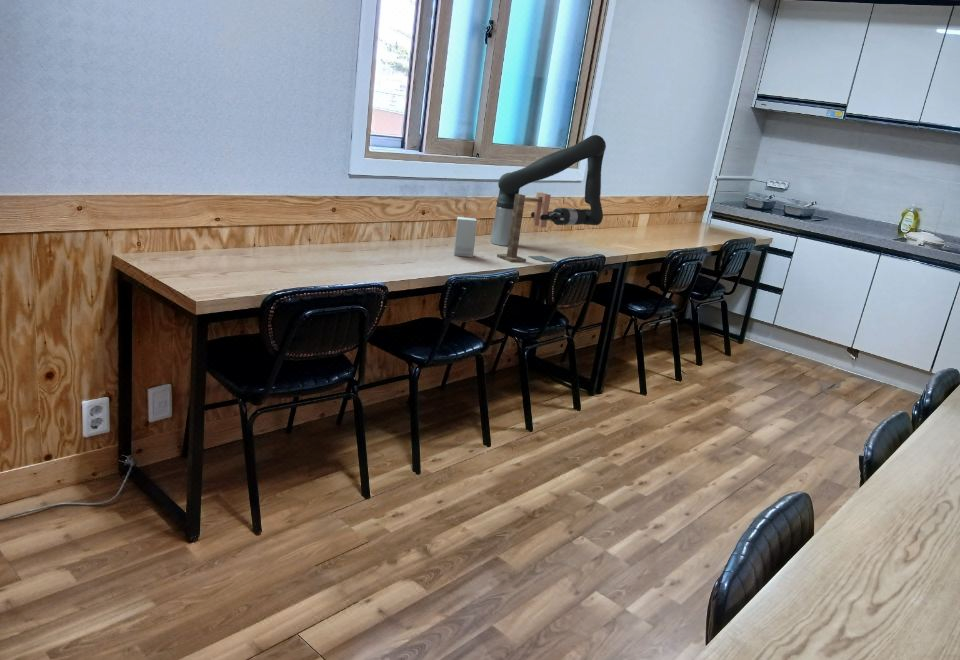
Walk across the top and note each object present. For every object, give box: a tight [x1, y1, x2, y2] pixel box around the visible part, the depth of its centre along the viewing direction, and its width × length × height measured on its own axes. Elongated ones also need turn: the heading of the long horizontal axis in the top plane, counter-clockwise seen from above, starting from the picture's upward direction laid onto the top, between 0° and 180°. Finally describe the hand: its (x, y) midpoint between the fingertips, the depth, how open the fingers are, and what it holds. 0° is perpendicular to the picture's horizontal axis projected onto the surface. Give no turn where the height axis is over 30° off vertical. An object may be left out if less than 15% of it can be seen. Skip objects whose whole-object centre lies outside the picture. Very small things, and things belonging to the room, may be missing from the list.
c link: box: [532, 192, 552, 228], centre depth 318 cm, size 6×3×14 cm, turn 37°
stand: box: [496, 193, 542, 263], centre depth 315 cm, size 10×17×28 cm, turn 127°
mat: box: [527, 255, 558, 263], centre depth 326 cm, size 10×8×1 cm
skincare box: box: [453, 216, 478, 258], centre depth 310 cm, size 8×7×16 cm
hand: (536, 215), depth 318 cm, fingers closed on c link, 5 cm apart
